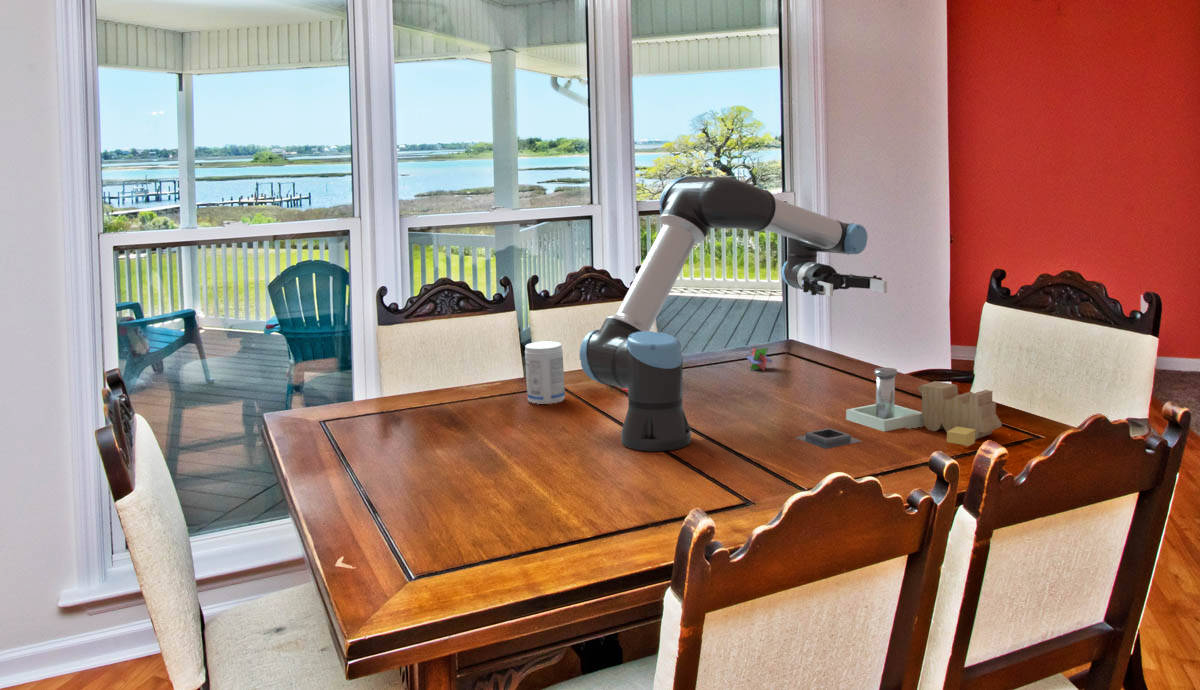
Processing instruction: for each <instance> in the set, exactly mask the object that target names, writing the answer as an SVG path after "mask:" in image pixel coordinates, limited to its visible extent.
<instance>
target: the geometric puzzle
mask: <svg viewBox="0 0 1200 690" xmlns="http://www.w3.org/2000/svg"><path fill="white" fill-rule="evenodd" d="M768 349H769V348H768V347H763V348H762V347H755V346H753V347H752V349H751V350H750V355H746V356H744V357H745V359H746V360H748V361H749V363H750V367H749V366H748V368H749V370H750V369H751V370H750V371H753V370H752V369H754V370H760V371H762V372H765V370H766V369H768V368H767V365H769V364H772V362H773V361H774V360H772V358H771V359H770V358H769V356H768V355H769V354H768V353H769V350H768ZM766 354H767V355H766ZM748 361H746V362H747V364H749V363H748ZM767 363H768V364H767ZM759 368H760V369H759Z"/></svg>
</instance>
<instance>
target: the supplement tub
mask: <svg viewBox="0 0 1200 690" xmlns="http://www.w3.org/2000/svg"><path fill="white" fill-rule="evenodd" d="M563 351H564V350H563V347H562V343H561V342H557V341H548V340H547V341H546V340H545V341H535V342H530V343H526V345H525V349H524V359H525V360H524V361H525V362H524V363H525V375H526V376H525V377H526V392H527V400H528V402H529V403H531V402H532V403H531V404H533V403H537V404H536V405H539V404H549V405H551V404H550V403H554V404H558V403H557V402H559V403H561V402H563V401H564V400H565V397H566V394H565V393H566V391H565V374H564V372H565V371H564V355H563V353H564V352H563Z"/></svg>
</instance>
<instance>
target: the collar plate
mask: <svg viewBox="0 0 1200 690" xmlns="http://www.w3.org/2000/svg"><path fill="white" fill-rule="evenodd" d="M794 439H796V440H800V441H803V442H806V443H807V444H808V443H809V444H811V445H813V446H816V447H819V448H821V449H825V450H827V449H832V448H837V447H842V446H846V445H851V444H856V443H862V442H863V441H862V440H860V439H857V438H855V437H852V435H851V434H850V433H846V432H843V431H839V430H836V429H833V428H831V427H828V428H824V429H819V430H812V431H809V432H807V431H806V432H805V435H801V436H796V437H795V436H794Z"/></svg>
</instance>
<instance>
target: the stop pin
mask: <svg viewBox="0 0 1200 690" xmlns="http://www.w3.org/2000/svg"><path fill="white" fill-rule="evenodd" d="M873 372H874V375H875V377H876V378H875V380H876V381H875V382H876V383H875V384H876V386H875V404H876V417H878V418H881V419H889V418H894V405H895V397H896V396H895V395H896V394H895V392H896V391H895V390H896V388H895V387H896V386H895V385H896V384H895V383H896V376H897V375H898V370H897V368H893V367H877V368H875V369H874V371H873Z"/></svg>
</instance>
